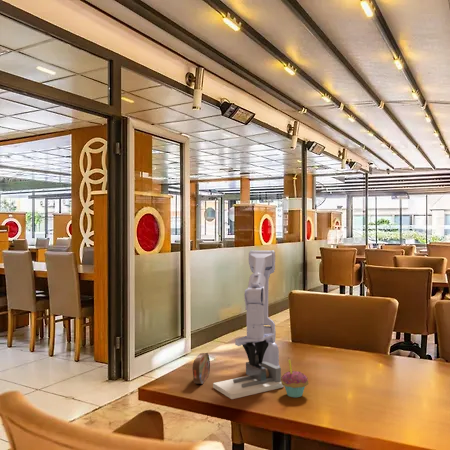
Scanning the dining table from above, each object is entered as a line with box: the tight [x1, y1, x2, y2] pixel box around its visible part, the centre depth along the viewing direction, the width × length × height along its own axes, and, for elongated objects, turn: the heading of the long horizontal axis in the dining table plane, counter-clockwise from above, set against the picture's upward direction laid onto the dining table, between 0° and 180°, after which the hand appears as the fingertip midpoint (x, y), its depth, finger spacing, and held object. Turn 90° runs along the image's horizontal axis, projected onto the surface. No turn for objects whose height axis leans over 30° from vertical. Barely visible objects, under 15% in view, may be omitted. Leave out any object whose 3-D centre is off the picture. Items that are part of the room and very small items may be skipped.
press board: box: [212, 361, 285, 400], centre depth 152 cm, size 20×12×6 cm, turn 120°
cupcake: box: [281, 358, 309, 398], centre depth 145 cm, size 9×8×12 cm
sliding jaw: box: [245, 352, 266, 382], centre depth 153 cm, size 2×9×8 cm, turn 30°
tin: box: [192, 352, 211, 385], centre depth 160 cm, size 15×3×8 cm, turn 168°
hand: (255, 364), depth 153 cm, fingers closed on sliding jaw, 2 cm apart
